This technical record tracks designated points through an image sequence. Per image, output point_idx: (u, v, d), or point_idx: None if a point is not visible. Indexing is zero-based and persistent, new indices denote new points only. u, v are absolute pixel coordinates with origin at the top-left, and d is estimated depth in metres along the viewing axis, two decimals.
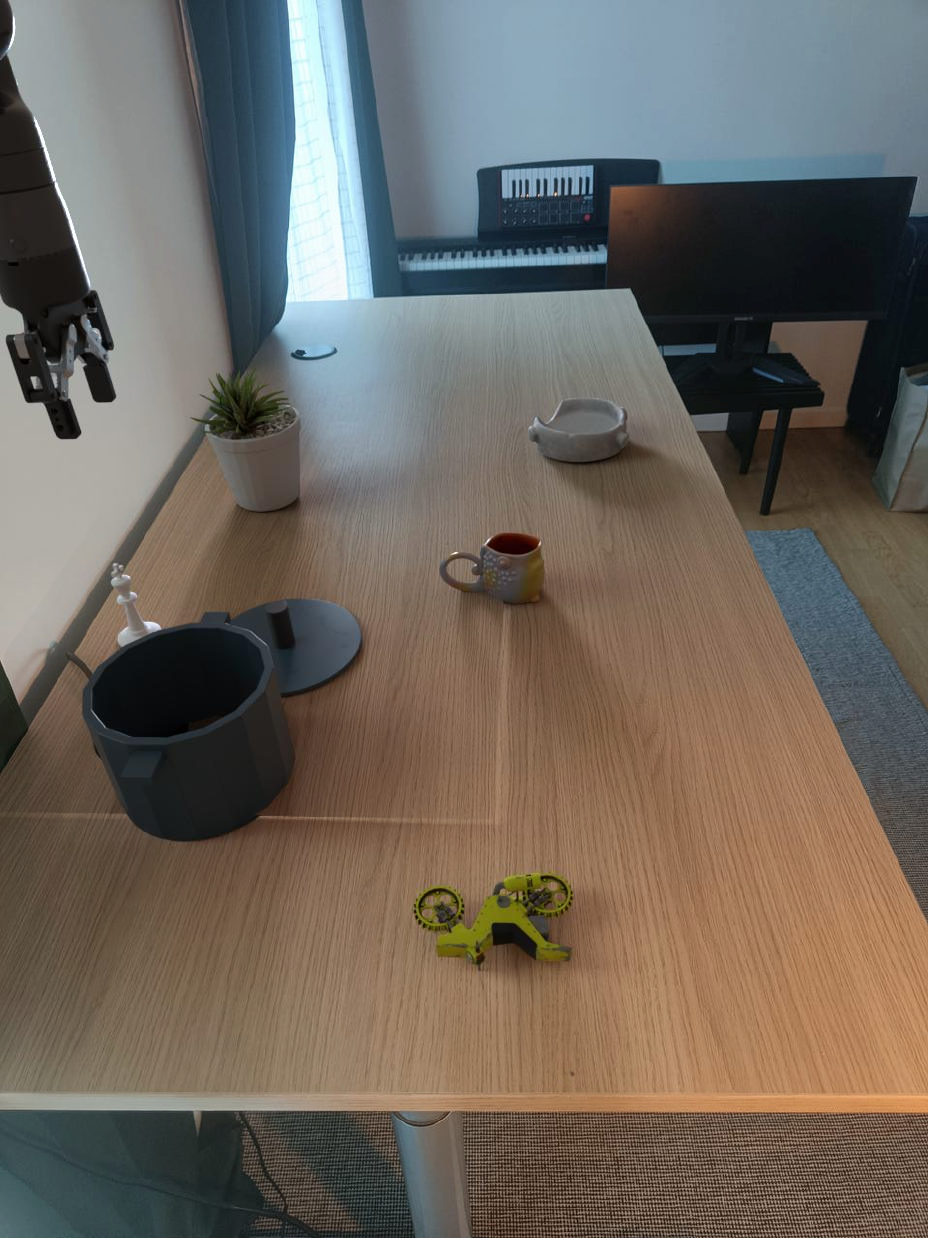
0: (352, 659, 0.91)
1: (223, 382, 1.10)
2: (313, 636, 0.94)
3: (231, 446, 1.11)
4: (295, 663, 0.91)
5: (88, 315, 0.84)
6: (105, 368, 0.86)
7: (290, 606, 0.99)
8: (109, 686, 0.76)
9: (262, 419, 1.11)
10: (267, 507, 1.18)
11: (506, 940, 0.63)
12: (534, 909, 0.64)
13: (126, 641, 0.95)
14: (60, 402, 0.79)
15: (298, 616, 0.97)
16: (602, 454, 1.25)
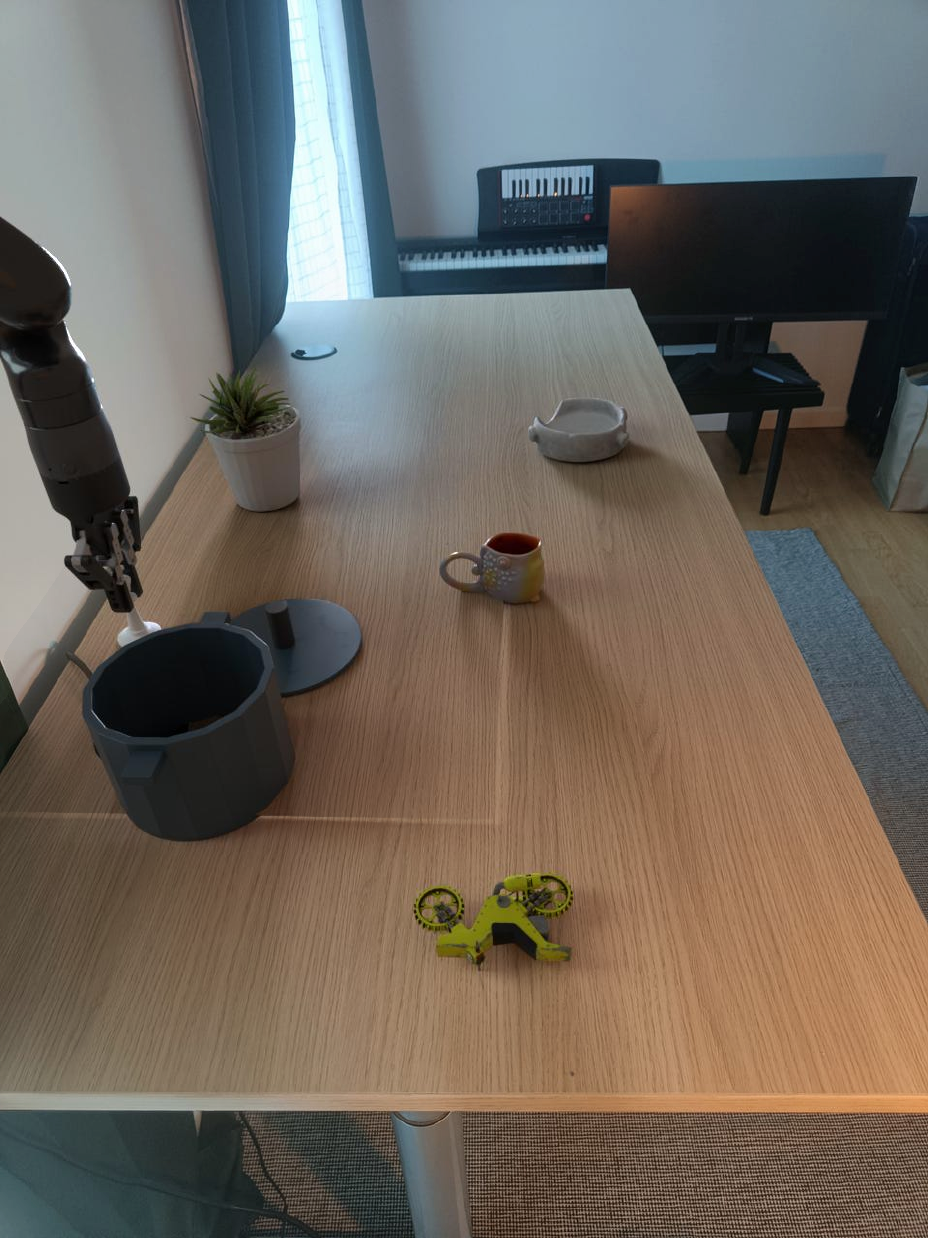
0: (352, 659, 0.91)
1: (223, 382, 1.10)
2: (313, 636, 0.94)
3: (231, 446, 1.11)
4: (295, 663, 0.91)
5: None
6: (133, 570, 0.93)
7: (290, 606, 0.99)
8: (109, 686, 0.76)
9: (262, 419, 1.11)
10: (267, 507, 1.18)
11: (506, 940, 0.63)
12: (534, 909, 0.64)
13: (126, 641, 0.95)
14: (117, 585, 0.90)
15: (298, 616, 0.97)
16: (602, 454, 1.25)
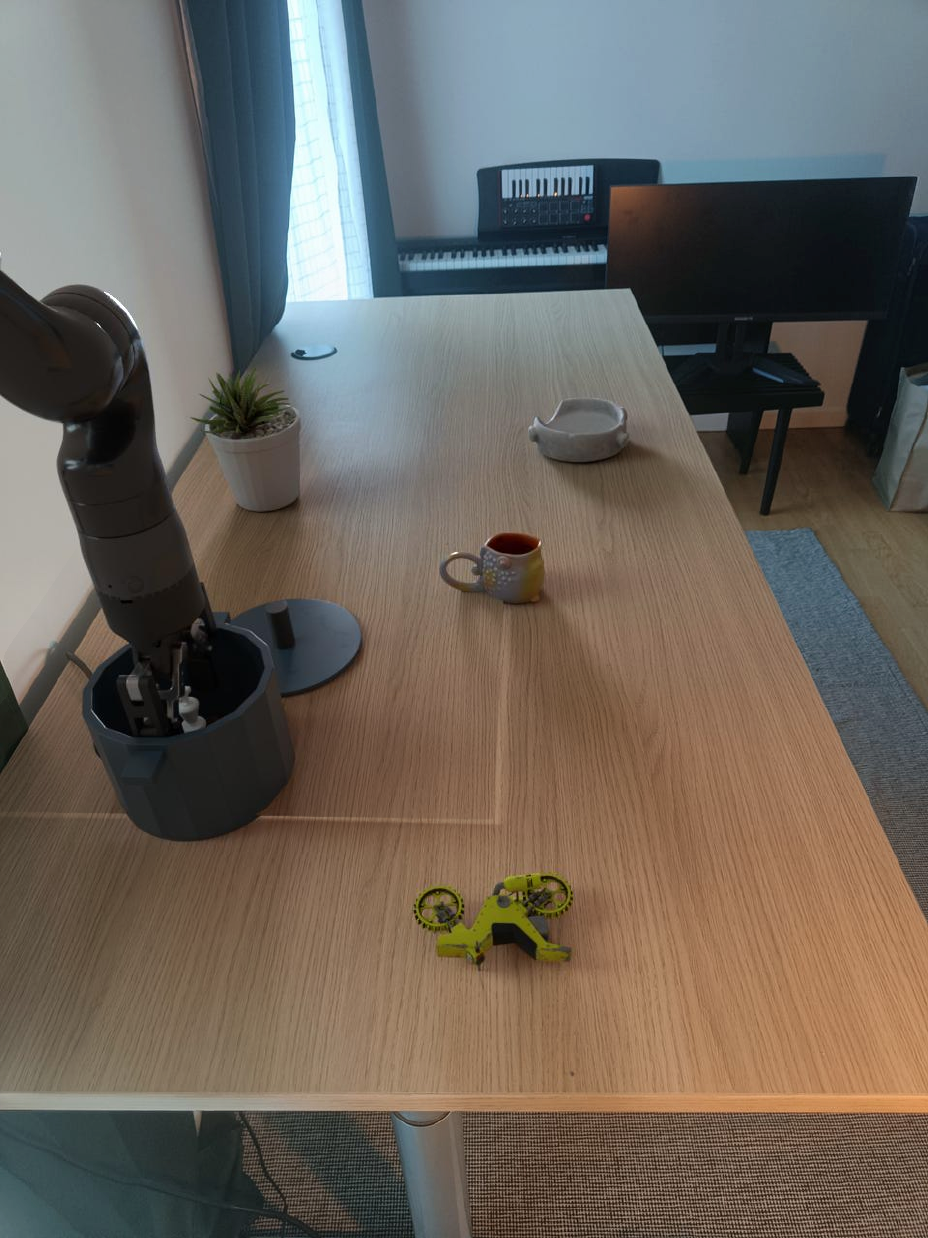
0: (352, 659, 0.91)
1: (223, 382, 1.10)
2: (313, 636, 0.94)
3: (231, 446, 1.11)
4: (295, 663, 0.91)
5: None
6: (209, 661, 0.77)
7: (290, 606, 0.99)
8: (109, 686, 0.76)
9: (262, 419, 1.11)
10: (267, 507, 1.18)
11: (506, 941, 0.63)
12: (534, 909, 0.64)
13: None
14: (170, 729, 0.70)
15: (298, 616, 0.97)
16: (602, 454, 1.25)
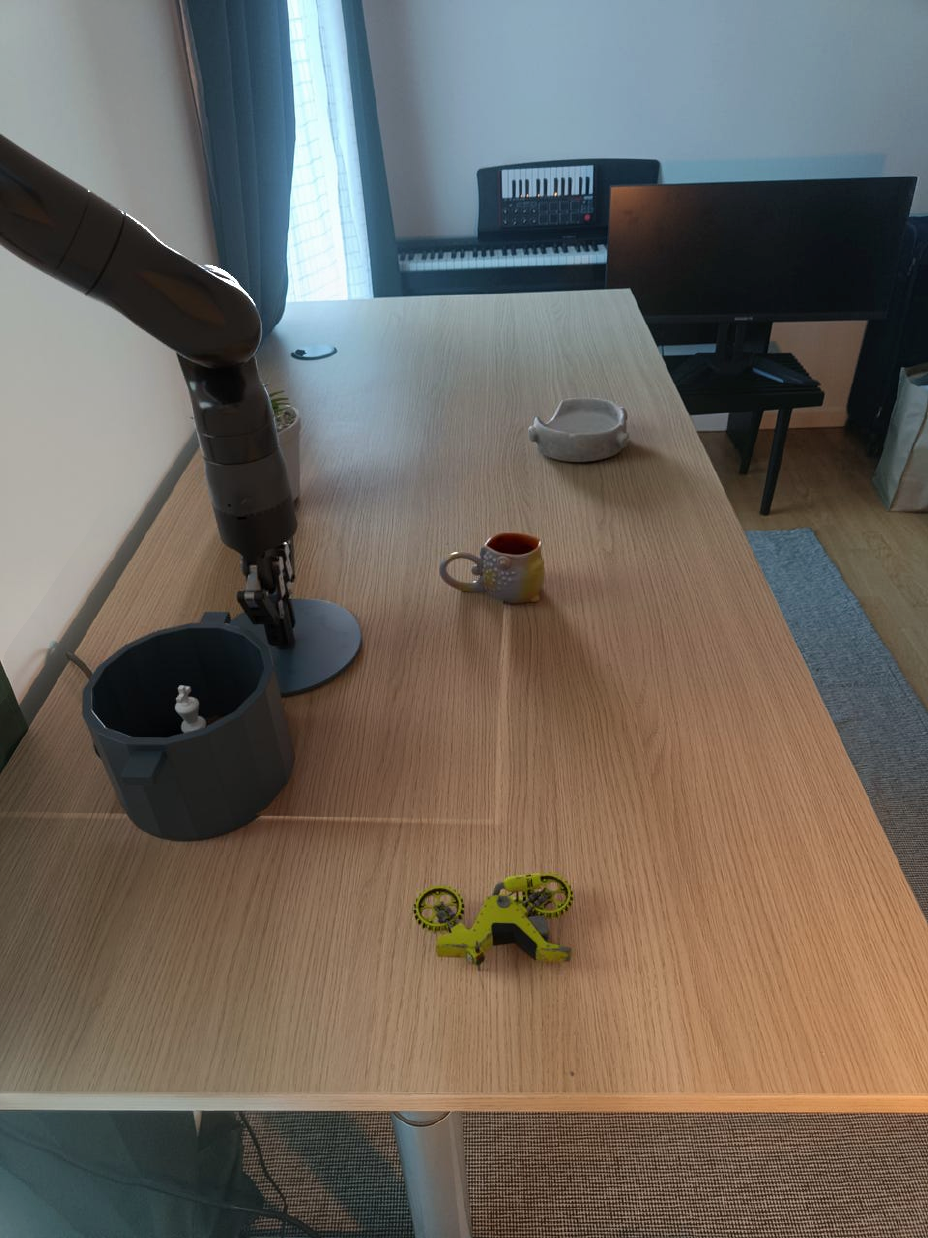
0: (352, 659, 0.91)
1: None
2: (313, 636, 0.94)
3: None
4: (295, 663, 0.91)
5: None
6: (290, 602, 0.92)
7: None
8: (109, 686, 0.76)
9: None
10: None
11: (506, 940, 0.63)
12: (534, 909, 0.64)
13: None
14: None
15: (298, 616, 0.97)
16: (602, 454, 1.25)
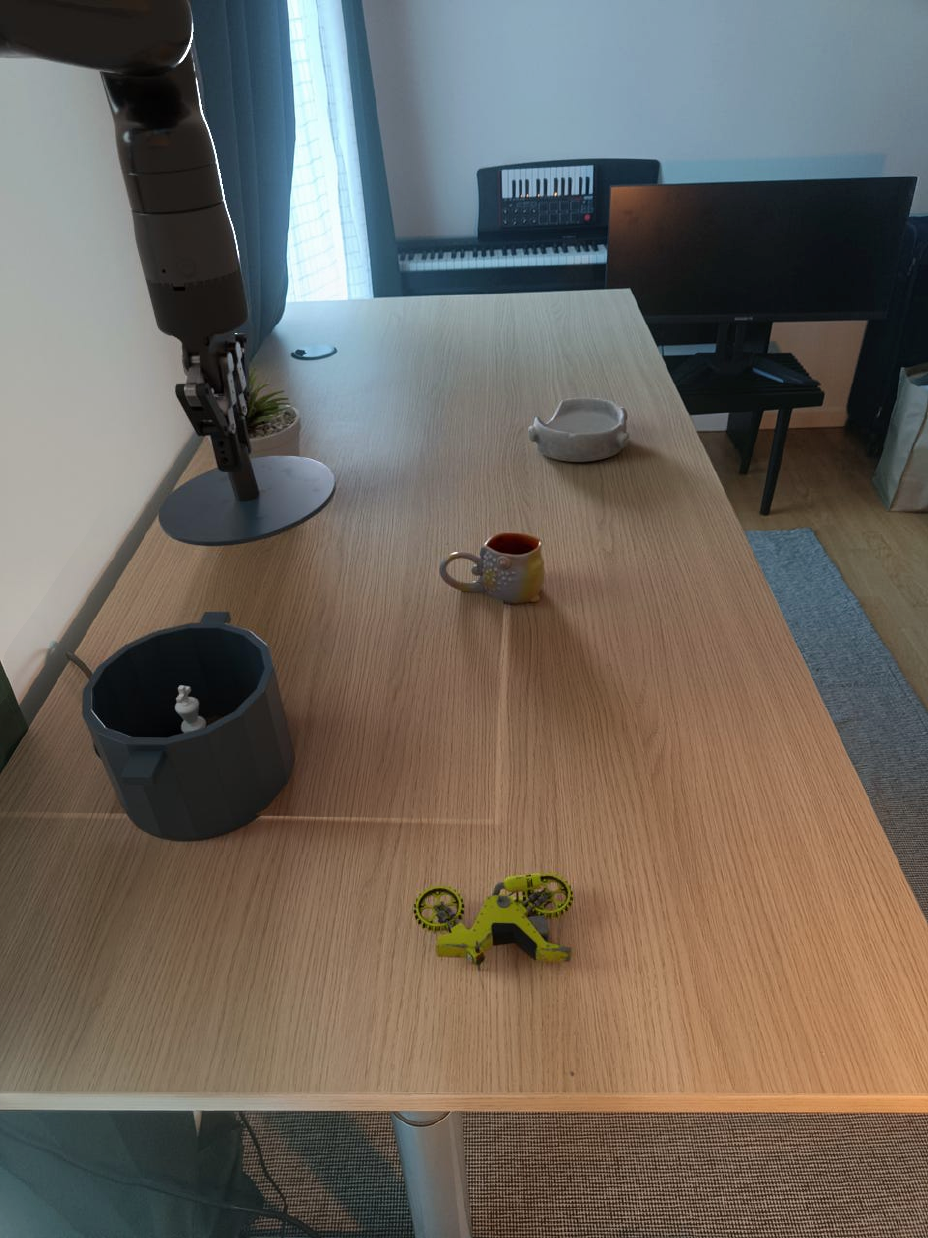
0: (327, 500, 0.79)
1: None
2: (280, 486, 0.82)
3: None
4: (262, 510, 0.79)
5: None
6: (243, 421, 0.78)
7: None
8: (109, 686, 0.76)
9: (262, 419, 1.11)
10: None
11: (506, 940, 0.63)
12: (534, 909, 0.64)
13: None
14: (228, 434, 0.76)
15: (260, 471, 0.85)
16: (602, 454, 1.25)
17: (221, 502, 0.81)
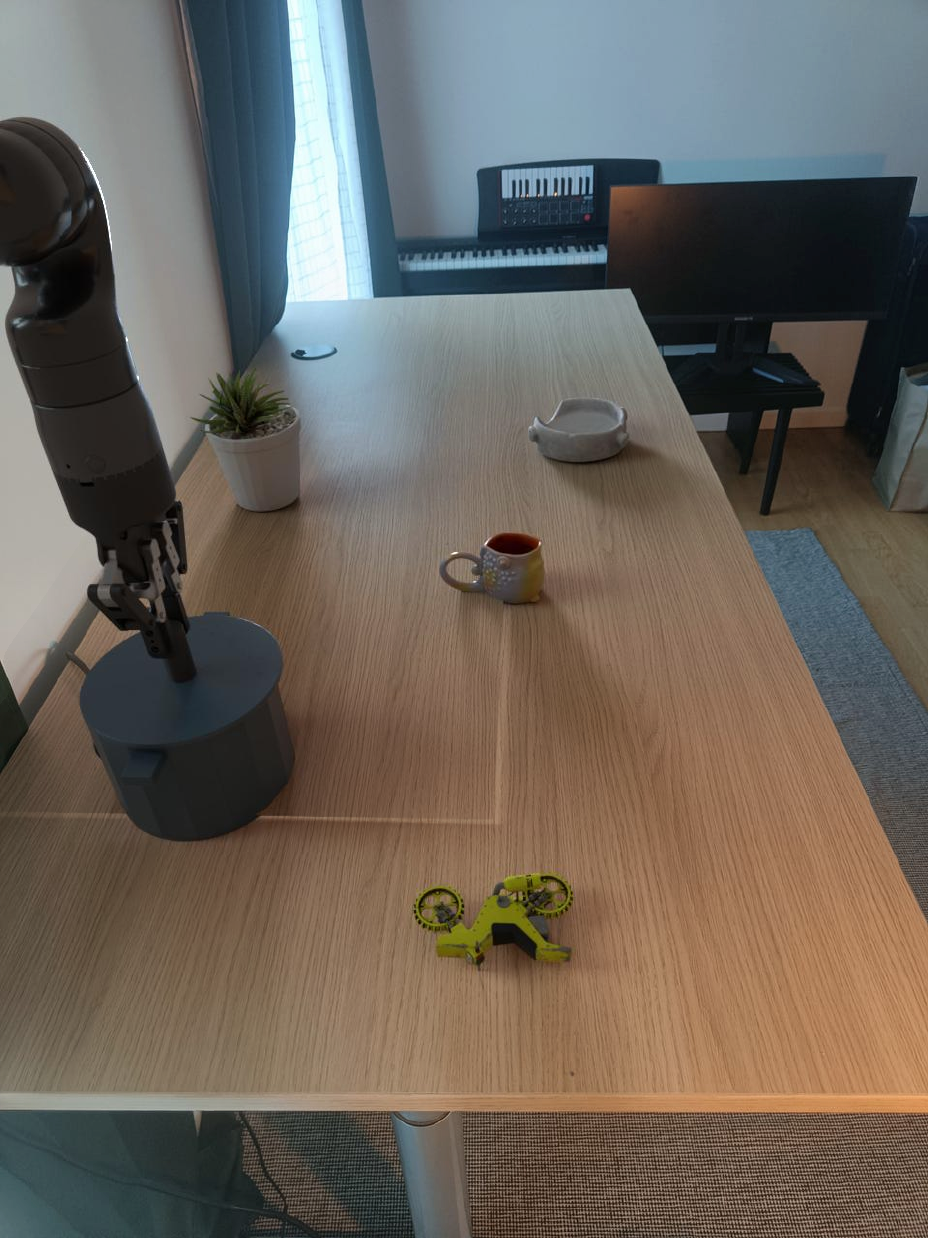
0: (271, 691, 0.71)
1: (223, 382, 1.10)
2: (220, 663, 0.74)
3: (231, 446, 1.11)
4: (196, 700, 0.70)
5: None
6: (178, 599, 0.70)
7: (191, 626, 0.78)
8: None
9: (262, 419, 1.11)
10: (267, 507, 1.18)
11: (506, 941, 0.63)
12: (534, 909, 0.64)
13: None
14: (157, 623, 0.67)
15: (201, 638, 0.77)
16: (602, 454, 1.25)
17: (152, 682, 0.72)
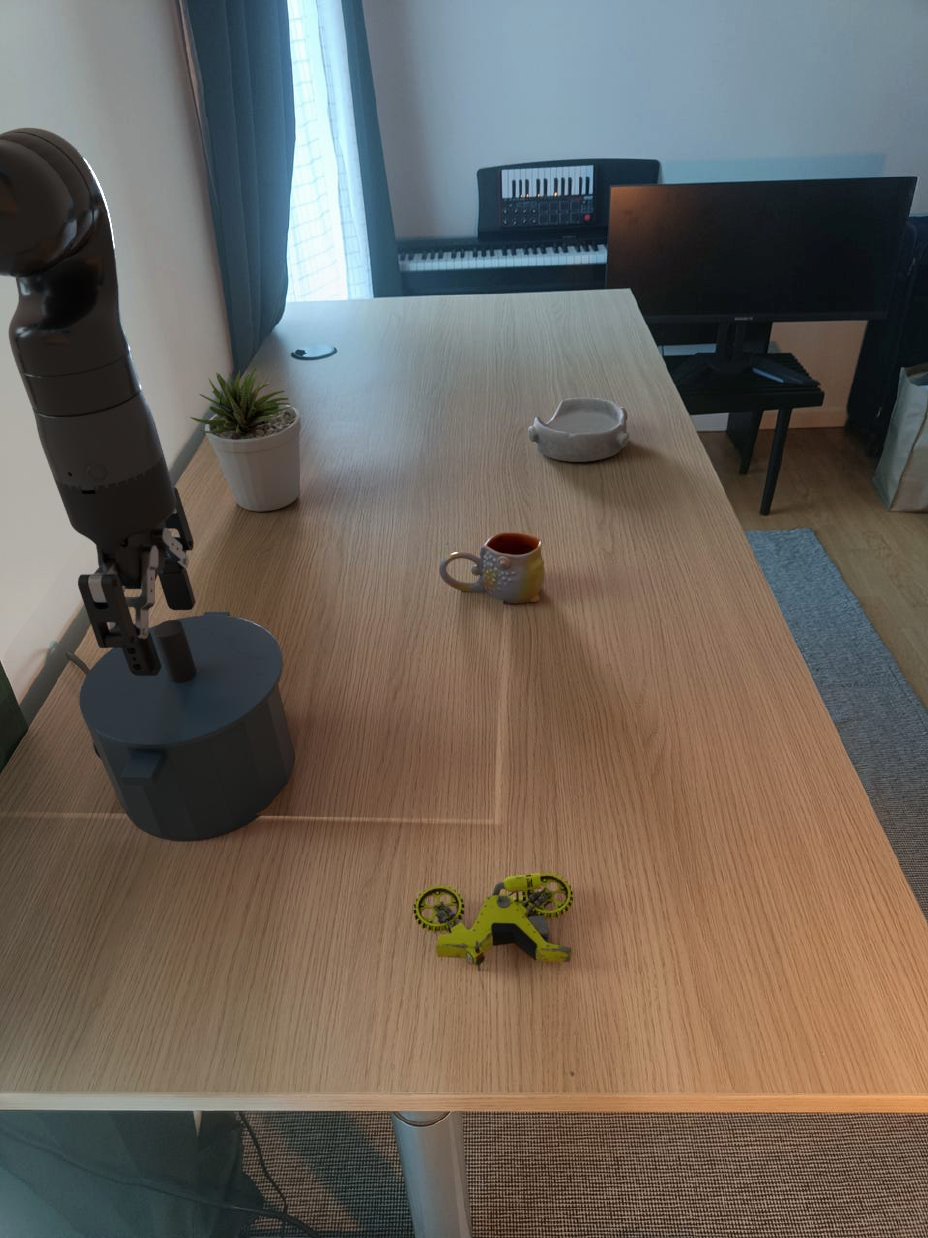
0: (271, 691, 0.71)
1: (223, 382, 1.10)
2: (220, 663, 0.74)
3: (231, 446, 1.11)
4: (196, 700, 0.70)
5: None
6: (185, 575, 0.72)
7: (191, 626, 0.78)
8: None
9: (262, 419, 1.11)
10: (267, 507, 1.18)
11: (506, 941, 0.63)
12: (534, 909, 0.64)
13: None
14: (139, 640, 0.64)
15: (201, 638, 0.77)
16: (602, 454, 1.25)
17: (152, 682, 0.72)
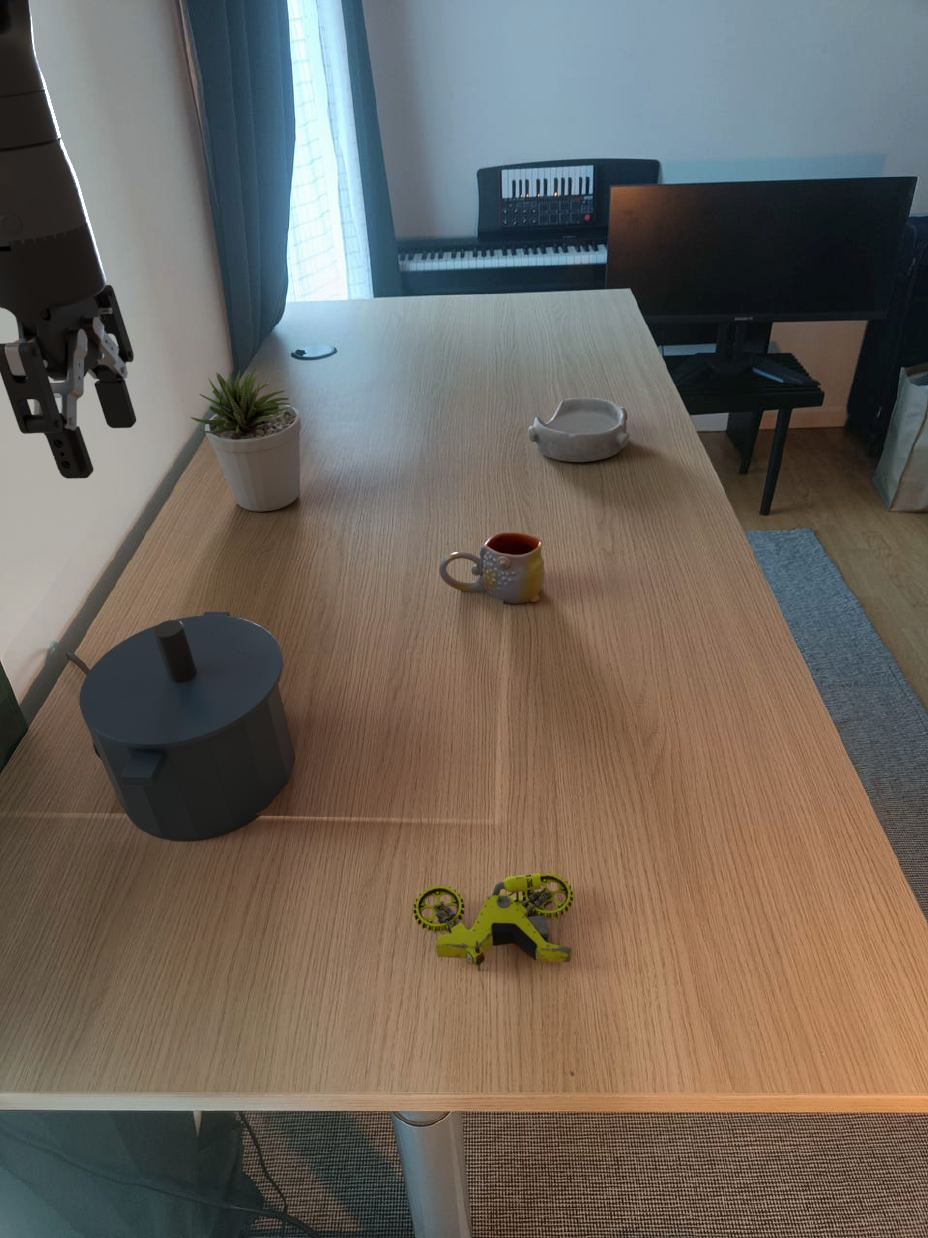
0: (271, 691, 0.71)
1: (223, 382, 1.10)
2: (220, 663, 0.74)
3: (231, 446, 1.11)
4: (196, 700, 0.70)
5: (101, 317, 0.66)
6: (123, 385, 0.67)
7: (191, 626, 0.78)
8: None
9: (262, 419, 1.11)
10: (267, 507, 1.18)
11: (506, 941, 0.63)
12: (534, 909, 0.64)
13: None
14: (66, 431, 0.60)
15: (201, 638, 0.77)
16: (602, 454, 1.25)
17: (152, 682, 0.72)
